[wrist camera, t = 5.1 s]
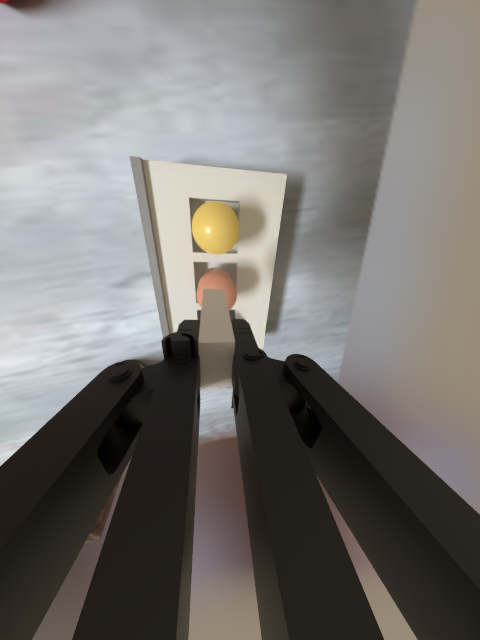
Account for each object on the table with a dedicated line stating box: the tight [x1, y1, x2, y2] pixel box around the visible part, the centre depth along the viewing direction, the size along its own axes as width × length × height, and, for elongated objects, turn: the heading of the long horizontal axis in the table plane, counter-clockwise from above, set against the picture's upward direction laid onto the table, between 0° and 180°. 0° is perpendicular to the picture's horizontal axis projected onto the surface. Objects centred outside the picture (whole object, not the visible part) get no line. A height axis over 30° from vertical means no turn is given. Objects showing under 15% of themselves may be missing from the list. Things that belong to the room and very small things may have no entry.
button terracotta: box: [196, 267, 237, 310], centre depth 20 cm, size 4×4×4 cm
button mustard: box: [192, 201, 240, 255], centre depth 17 cm, size 4×4×4 cm
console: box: [130, 156, 287, 350], centre depth 24 cm, size 22×14×6 cm, turn 177°
